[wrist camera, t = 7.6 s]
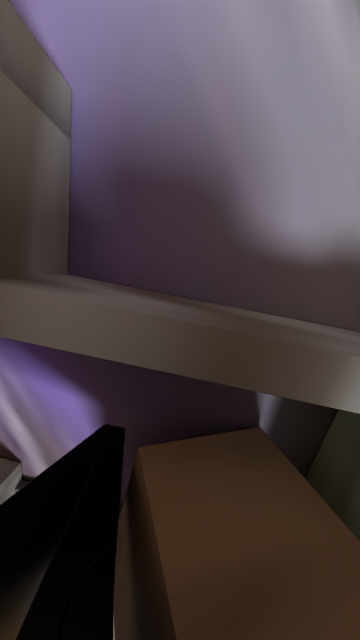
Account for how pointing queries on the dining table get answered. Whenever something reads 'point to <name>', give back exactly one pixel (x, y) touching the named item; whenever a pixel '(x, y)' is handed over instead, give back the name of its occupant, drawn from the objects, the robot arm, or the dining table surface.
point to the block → (231, 547)
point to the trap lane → (143, 305)
